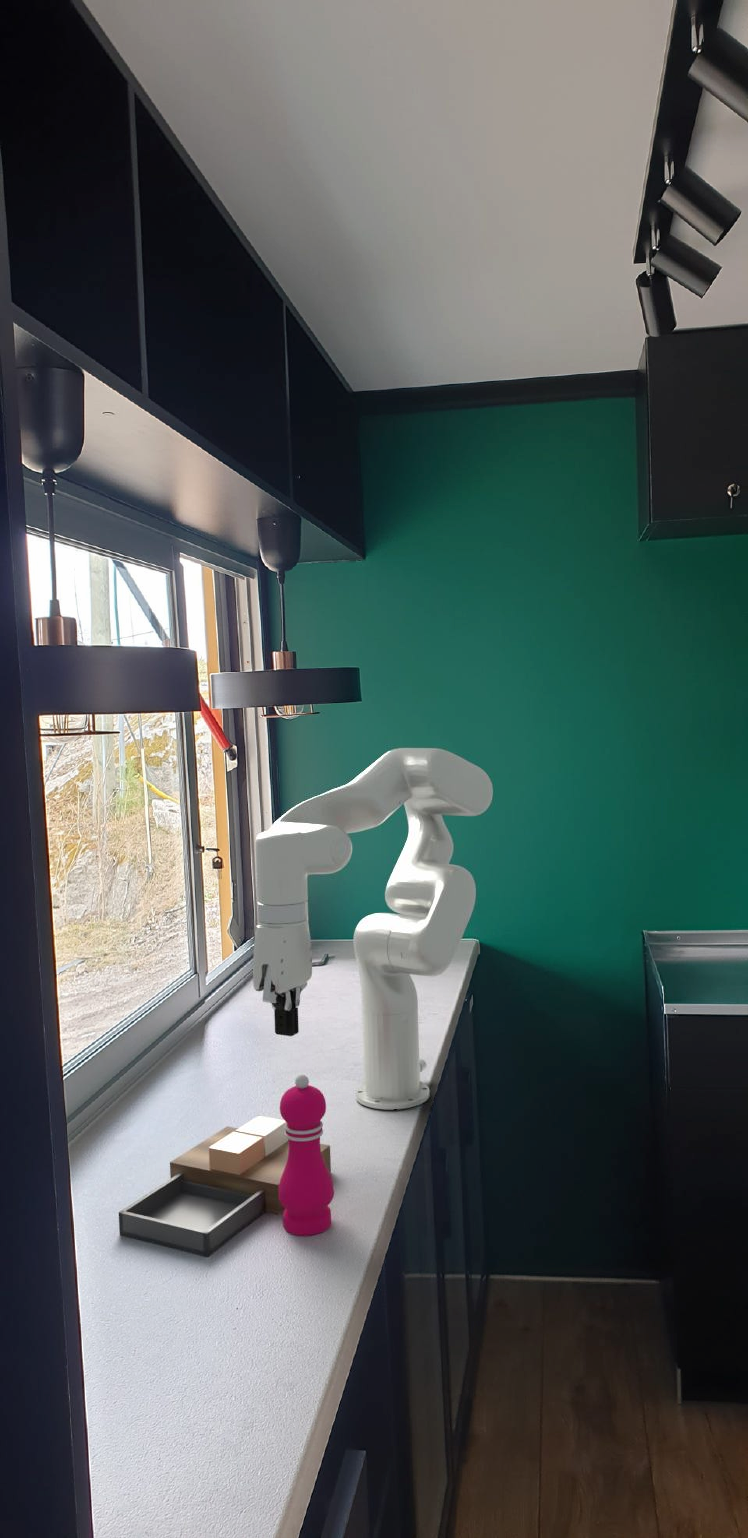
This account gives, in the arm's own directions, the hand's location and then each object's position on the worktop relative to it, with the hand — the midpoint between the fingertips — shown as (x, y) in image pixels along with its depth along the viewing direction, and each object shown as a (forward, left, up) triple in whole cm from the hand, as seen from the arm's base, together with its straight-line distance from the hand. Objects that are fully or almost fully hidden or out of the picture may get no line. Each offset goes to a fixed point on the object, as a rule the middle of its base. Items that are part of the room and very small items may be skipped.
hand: (286, 1033), depth 167 cm
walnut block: (+11, 0, -18) cm, 21 cm away
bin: (+25, 0, -18) cm, 31 cm away
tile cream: (+8, 0, -14) cm, 16 cm away
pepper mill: (+19, +14, -19) cm, 30 cm away
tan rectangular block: (+14, 0, -14) cm, 20 cm away
